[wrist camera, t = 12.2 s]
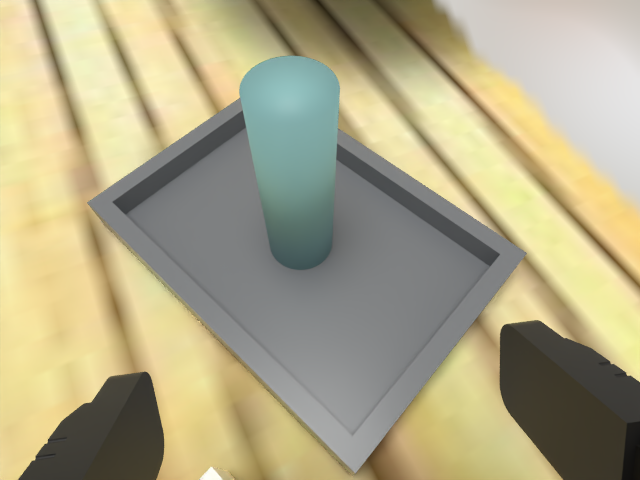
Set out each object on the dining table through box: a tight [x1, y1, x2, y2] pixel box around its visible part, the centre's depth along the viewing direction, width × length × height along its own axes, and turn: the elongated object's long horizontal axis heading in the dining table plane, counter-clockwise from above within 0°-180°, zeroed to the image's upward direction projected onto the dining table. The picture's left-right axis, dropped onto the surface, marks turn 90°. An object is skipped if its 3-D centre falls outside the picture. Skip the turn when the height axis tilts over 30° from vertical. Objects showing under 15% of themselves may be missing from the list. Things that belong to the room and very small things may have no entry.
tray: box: [87, 98, 527, 475], centre depth 25 cm, size 20×14×2 cm
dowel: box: [239, 56, 340, 270], centre depth 20 cm, size 4×4×11 cm
